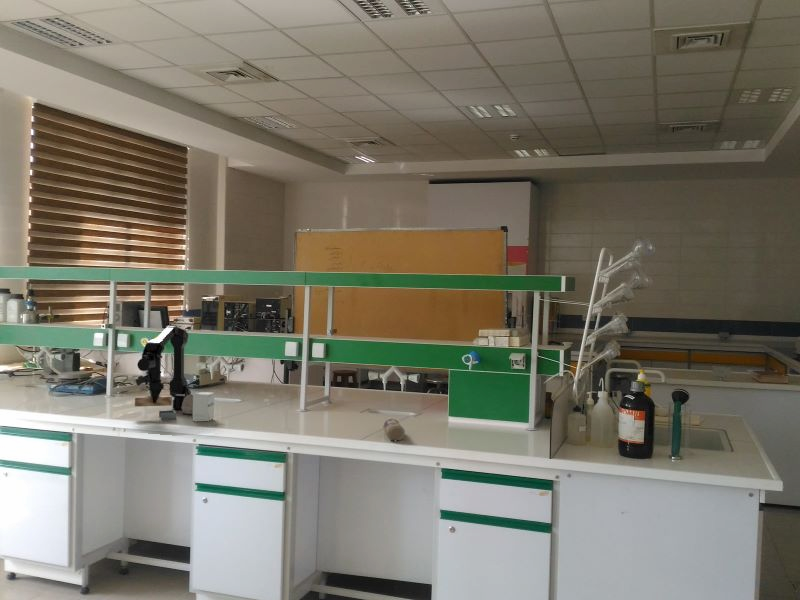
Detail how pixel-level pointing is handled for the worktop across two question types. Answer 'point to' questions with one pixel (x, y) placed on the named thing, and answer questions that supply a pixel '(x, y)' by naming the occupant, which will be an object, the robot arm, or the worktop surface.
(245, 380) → the worktop surface
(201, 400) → the supplement box
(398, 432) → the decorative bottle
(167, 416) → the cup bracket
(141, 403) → the walnut rail
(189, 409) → the pumice stone
